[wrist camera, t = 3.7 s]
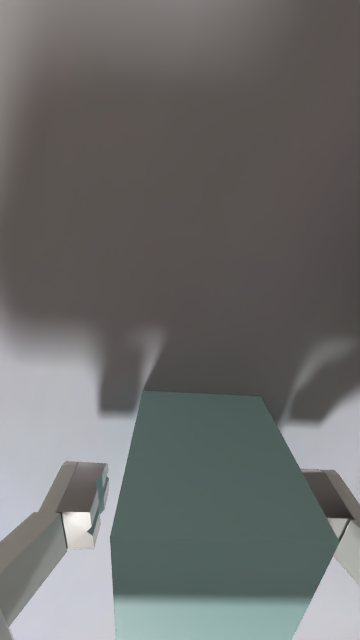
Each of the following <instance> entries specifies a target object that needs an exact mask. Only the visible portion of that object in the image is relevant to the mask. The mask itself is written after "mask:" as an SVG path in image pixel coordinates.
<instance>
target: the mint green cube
mask: <svg viewBox="0 0 360 640" xmlns="http://www.w3.org/2000/svg"><path fill="white" fill-rule="evenodd" d="M339 543H340V542H339V540H338V538H337V536H336V534H335V532H334V530H333V529H332V527H331V525H330V523H329V521H328V519H327V518H326V516H325V514H324V512H323V510H322V508H321V506H320V505H319V503H318V501H317V499H316V497H315V495H314V494H313V492H312V490H311V488H310V486H309V484H308V482H307V481H306V479H305V477H304V475H303V473H302V471H301V470H300V468H299V466H298V464H297V462H296V460H295V458H294V457H293V455H292V453H291V451H290V449H289V447H288V446H287V444H286V442H285V440H284V438H283V436H282V434H281V433H280V431H279V429H278V427H277V425H276V423H275V422H274V420H273V418H272V416H271V414H270V412H269V410H268V409H267V407H266V405H265V403H264V401H263V399H262V397H261V396H245V395H224V394H204V393H183V392H162V391H143V392H142V396H141V401H140V405H139V410H138V414H137V418H136V423H135V427H134V432H133V436H132V441H131V445H130V450H129V454H128V459H127V463H126V468H125V472H124V477H123V481H122V486H121V490H120V495H119V499H118V504H117V508H116V513H115V517H114V522H113V526H112V531H111V535H110V544H111V562H112V579H113V597H114V614H115V632H116V640H292V638H293V636H294V634H295V632H296V630H297V628H298V626H299V624H300V622H301V620H302V618H303V616H304V614H305V612H306V610H307V608H308V606H309V604H310V602H311V599H312V597H313V595H314V593H315V591H316V589H317V587H318V585H319V583H320V581H321V579H322V577H323V575H324V573H325V571H326V569H327V567H328V565H329V563H330V561H331V559H332V557H333V555H334V553H335V551H336V549H337V547H338V545H339Z"/></svg>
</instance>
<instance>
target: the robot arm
mask: <svg viewBox="0 0 360 640" xmlns="http://www.w3.org/2000/svg"><path fill="white" fill-rule="evenodd" d="M300 470H301V471H302V473H303V475H304V477H305V479H306V481H307V482H308V484H309V486H310V488H311V490H312V492H313V494H314V495H315V497H316V499H317V501H318V503H319V505H320V506H321V508H322V510H323V512H324V514H325V516H326V518H327V519H328V521H329V523H330V525H331V527H332V529H333V530H334V532H335V534H336V536H337V538H338V540H339V542H340V543H339V545H338V547H337V549H336V551H335V553H334V555H333V556H334V557H335V558H336V560H337V561H338V562H339V563H340V564H341V565H342V567H343V568H344V569H345V570H346V571H347V572H348V574H349V575H350V576H351V577H352V578H353V579H354V581H355V582H356V583H357V584H358V585H359V586H360V504H359V503H358V501H357V500H356V498H355V497H354V496H353V494H352V493H351V491H350V490H349V488H348V487H347V486H346V484H345V483H344V481H343V480H342V478H341V477H340V475H339V474H338V473H337V472H336V471H335V470H319V469H300ZM107 473H108V464H107V463H89V462H69V461H66V462H65V463H64V464H63V465H62V466H61V468H60V470H59V472H58V474H57V476H56V478H55V480H54V482H53V484H52V486H51V488H50V490H49V492H48V494H47V496H46V498H45V500H44V502H43V504H42V506H41V508H40V510H39V512H33V513H32V514H31V515H30V516H29V517H28V518H27V519H25V520H24V521H23V522H22V523H21V524H20V525H19V526H18V527H16V528H15V529H14V530H13V531H12V532H11V533H10V534H9V535H7V536H6V537H5V538H4V539H3V540H2V541H1V542H0V640H14V639H13V636H12V634H11V631H10V629H9V626H10V625H11V624H12V622H13V621H14V620H15V618H16V617H17V616H18V614H19V613H20V612H21V611H22V609H23V608H24V607H25V605H26V604H27V603H28V601H29V600H30V599H31V598H32V596H33V595H34V594H35V592H36V591H37V590H38V589H39V587H40V586H41V585H42V583H43V582H44V581H45V579H46V578H47V577H48V576H49V574H50V573H51V572H52V570H53V569H54V568H55V566H56V565H57V564H58V563H59V561H60V560H61V559H62V557H63V556H64V555H65V553H66V552H67V549H94V546H95V543H96V539H97V535H98V532H99V528H100V514H101V513H102V511H103V510H104V509H105V505H106V501H107V496H108V491H109V478H108V477H107Z"/></svg>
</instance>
